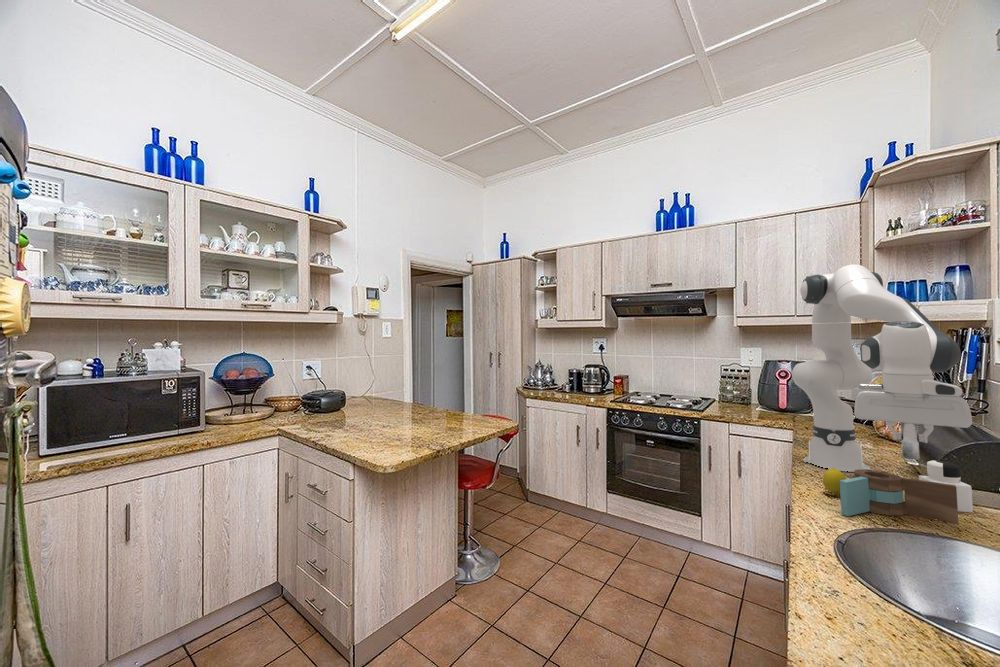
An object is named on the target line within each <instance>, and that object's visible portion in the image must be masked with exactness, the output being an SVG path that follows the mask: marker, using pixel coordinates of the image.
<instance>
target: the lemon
mask: <svg viewBox="0 0 1000 667" xmlns="http://www.w3.org/2000/svg"><path fill="white" fill-rule="evenodd" d="M846 479H847V478H846V475H845V474H844V473H843V471H839V470H837V469H835V468H832V469H827V470H826V471H825V472H823V475H822V483H823V486H824V488H825V489H826V490H827V491H829V493H831V494H833V495H834V496H838V495H839V494H840V480H846Z"/></svg>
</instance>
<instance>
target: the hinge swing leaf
mask: <svg viewBox="0 0 1000 667" xmlns="http://www.w3.org/2000/svg"><path fill="white" fill-rule="evenodd" d="M869 500H872V501H876V502H883V503H892V504H897V503H901V502H904V501H905V500H904V490H902V491H891V492H889V491H882V490H876V489H870V488H869V483H868V478H866V477H862V476H861V477H856V478H855V477H852V478H851V477H850V478H846V480H840V514H841V515H843V516H846V517H851V516H855V515H859V514H863V513H869V511H870V502H869Z"/></svg>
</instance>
